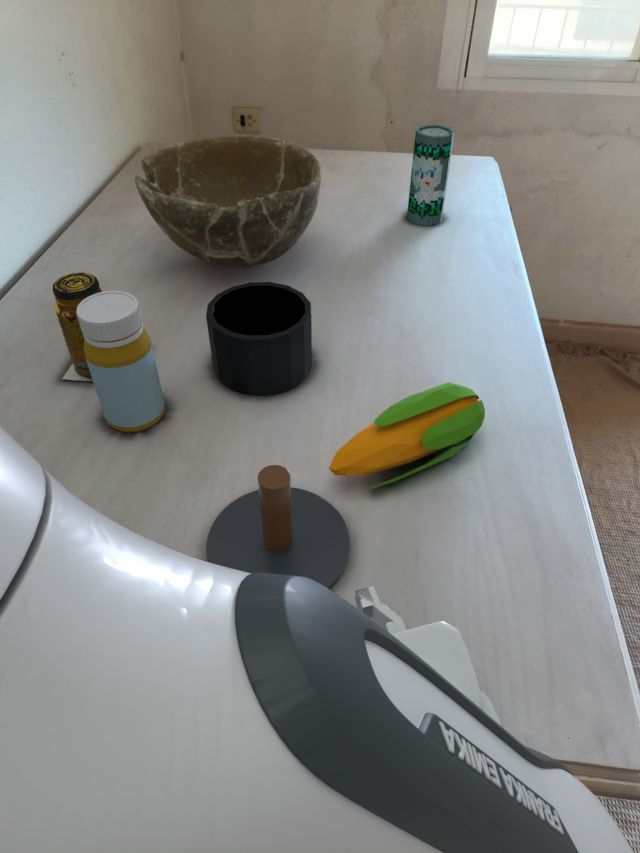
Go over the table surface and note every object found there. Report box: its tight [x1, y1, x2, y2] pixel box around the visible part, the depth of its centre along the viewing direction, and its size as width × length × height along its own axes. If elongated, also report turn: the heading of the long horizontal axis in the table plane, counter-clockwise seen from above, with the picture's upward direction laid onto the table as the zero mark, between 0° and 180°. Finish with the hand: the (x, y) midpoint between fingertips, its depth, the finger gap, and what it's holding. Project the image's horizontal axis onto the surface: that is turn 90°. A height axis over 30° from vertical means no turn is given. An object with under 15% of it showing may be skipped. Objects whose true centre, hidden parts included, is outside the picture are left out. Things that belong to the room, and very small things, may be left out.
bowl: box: [134, 135, 322, 268], centre depth 97 cm, size 28×27×15 cm
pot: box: [205, 281, 313, 397], centre depth 79 cm, size 13×13×8 cm
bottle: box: [76, 290, 166, 433], centre depth 69 cm, size 7×7×15 cm
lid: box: [206, 464, 350, 589], centre depth 57 cm, size 14×14×10 cm
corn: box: [328, 382, 486, 490], centre depth 67 cm, size 7×8×20 cm
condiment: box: [52, 272, 103, 382], centre depth 77 cm, size 7×8×12 cm
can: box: [406, 123, 455, 227], centre depth 108 cm, size 6×6×15 cm
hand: (306, 606), depth 49 cm, fingers open, 8 cm apart
